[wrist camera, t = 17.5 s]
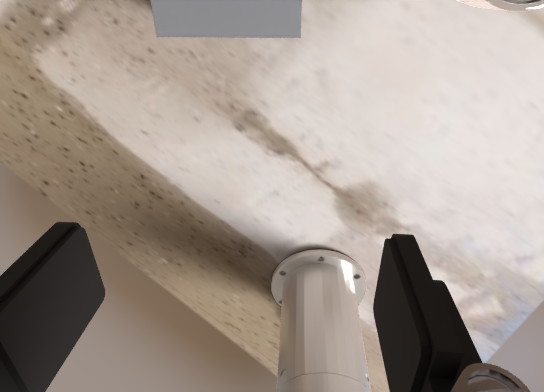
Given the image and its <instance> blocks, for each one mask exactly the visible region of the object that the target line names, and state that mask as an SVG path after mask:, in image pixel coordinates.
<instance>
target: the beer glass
mask: <svg viewBox="0 0 544 392" xmlns="http://www.w3.org/2000/svg"><path fill="white" fill-rule="evenodd" d="M456 1H458V2H461V3H463V4H466V5H469V6H474V7H479V8H485V9H497V10H507V11H516V12H521V11H530V10H535V9H539V8H543V7H544V0H456Z"/></svg>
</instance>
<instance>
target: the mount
mask: <svg viewBox="0 0 544 392" xmlns="http://www.w3.org/2000/svg"><path fill="white" fill-rule="evenodd" d="M151 6H152V12H153V18H154V24H155V30H156V36H157V37H250V38H301V8H302V0H151Z"/></svg>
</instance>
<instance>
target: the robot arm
mask: <svg viewBox="0 0 544 392" xmlns="http://www.w3.org/2000/svg"><path fill="white" fill-rule="evenodd" d="M271 291H272V294H273V297H274V299H275V301H276V302H277V303H278V304H279V305H280V307H281V324H280V341H279V358H278V375H277V392H371V386H370V380H369V374H368V367H367V361H366V355H365V349H364V343H363V336H362V330H361V324H360V318H359V311H358V305H359V304H360V303H361V302H362V300H363V299H364V297H365V294H366V280H365V276H364V273H363V271H362V269H361V268H360V266H359V265H358V264H357V263H356V262H355V261H354V260H352V259H351V258H349V257H347V256H346V255H343V254H341V253H338V252H334V251H330V250H320V249H317V250H307V251H302V252H299V253H296V254H294V255H291V256H290V257H288V258H286V259H285V260H284V261H282V262H281V263H280V264H279V265H278V267H277V268H276V269H275V271H274V273H273V276H272V282H271ZM104 297H105V288H104V286H103V282H102V279H101V276H100V273H99V270H98V267H97V264H96V261H95V258H94V255H93V252H92V249H91V246H90V243H89V240H88V237H87V234H86V231H85V229H84V228H82V227H81V226H80V225H79V224H78V223H74V222H71V223H70V222H57V223H55V224H54V225H53V226H52V227H51V228H50V229H49V230H48V231H47V232H46V233H45V234H44V235H43V236H42V237H40V238H39V239H38V240H37V241H36V242H35V243H34V244H33V245H32V246H31V247H30V248H29V249H28V250H27V251H26V252H25V253H24V254H23V255H22V256H21V257H20V258H19V259H18V260H17V261H15V262H14V263H13V264H12V265H11V266H10V267H9V268H8V269H7V270H6V271H5V272H4V273H3V274H2V275H1V276H0V392H45V391H46V390H47V388H48V387H49V385H50V383H51V382H52V380H53V379H54V377H55V376H56V374H57V372H58V371H59V369H60V368H61V366H62V365H63V363H64V361H65V360H66V358H67V357H68V355H69V354H70V352H71V350H72V349H73V347H74V346H75V344H76V342H77V341H78V339H79V338H80V336H81V335H82V333H83V332H84V330H85V328H86V327H87V325H88V323H89V322H90V321H91V319H92V317H93V316H94V314H95V313H96V311H97V309H98V308H99V306H100V305H101V303H102V302H103V300H104ZM373 311H374V318H375V322H376V327H377V332H378V337H379V342H380V347H381V351H382V356H383V361H384V366H385V371H386V375H387V380H388V385H389V390H390V392H530V390H529V389H528V387H527V386H526V385H525V384H524V383H523V382H522V381H521V380H520V379H519V378H517V377H516V376H514V375H513V374H512V373H510V372H509V371H507V370H505V369H503V368H501V367H498V366H496V365H492V364H487V363H482V361H481V359H480V357H479V354H478V352H477V350H476V348H475V346H474V344H473V342H472V339H471V337H470V335H469V333H468V331H467V329H466V327H465V325H464V322H463V320H462V318H461V316H460V314H459V312H458V310H457V307H456V305H455V303H454V301H453V299H452V297H451V295H450V292H449V290H448V288H447V286H446V285H445V283H444V282H443V281H441V280H433V279H432V276H431V274H430V272H429V269H428V267H427V265H426V262H425V260H424V258H423V255H422V253H421V251H420V249H419V246H418V244H417V242H416V239H415V237H414V235H408V234H393V235H392V237H391V239H385V242H384V248H383V253H382V259H381V264H380V270H379V276H378V281H377V287H376V292H375V298H374V305H373Z"/></svg>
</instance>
